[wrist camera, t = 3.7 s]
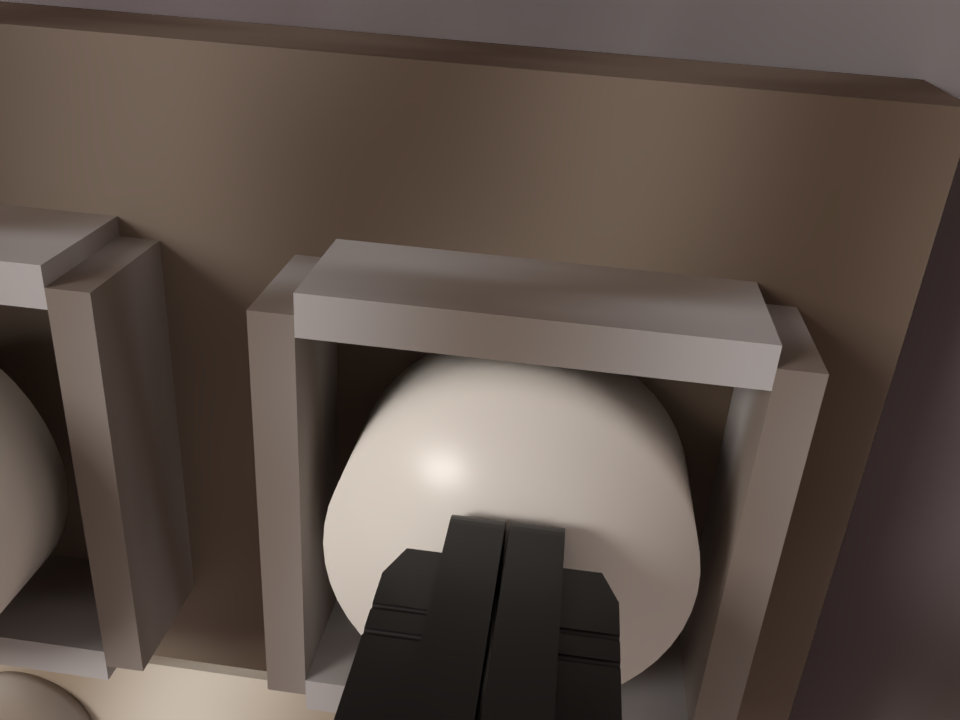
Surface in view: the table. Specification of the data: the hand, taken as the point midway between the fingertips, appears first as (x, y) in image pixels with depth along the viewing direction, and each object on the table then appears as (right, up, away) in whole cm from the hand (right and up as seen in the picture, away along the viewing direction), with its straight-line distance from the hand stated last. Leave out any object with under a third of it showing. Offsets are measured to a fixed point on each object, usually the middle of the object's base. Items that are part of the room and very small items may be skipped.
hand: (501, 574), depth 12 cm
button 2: (0, +1, +2) cm, 2 cm away
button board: (-8, +1, +5) cm, 10 cm away
